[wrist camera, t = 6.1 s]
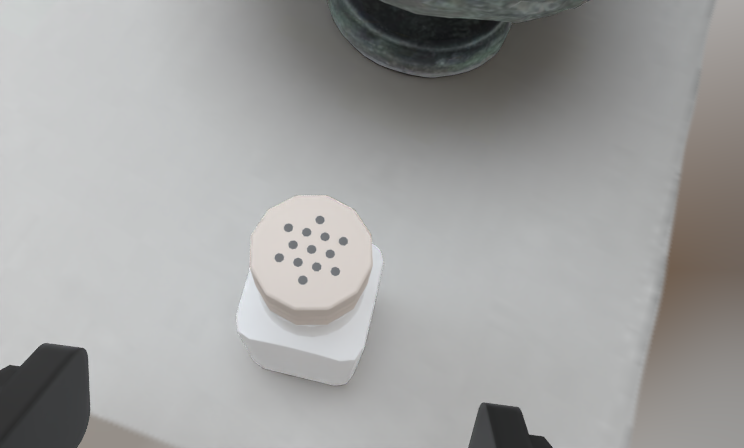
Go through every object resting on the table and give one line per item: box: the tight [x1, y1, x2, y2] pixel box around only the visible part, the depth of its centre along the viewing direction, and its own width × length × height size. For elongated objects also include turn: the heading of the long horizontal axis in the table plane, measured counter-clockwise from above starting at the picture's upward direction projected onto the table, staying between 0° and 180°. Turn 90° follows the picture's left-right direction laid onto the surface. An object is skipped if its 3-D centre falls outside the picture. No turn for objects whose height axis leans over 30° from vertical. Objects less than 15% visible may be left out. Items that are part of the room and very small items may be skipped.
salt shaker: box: [236, 195, 384, 386], centre depth 20 cm, size 4×4×10 cm
